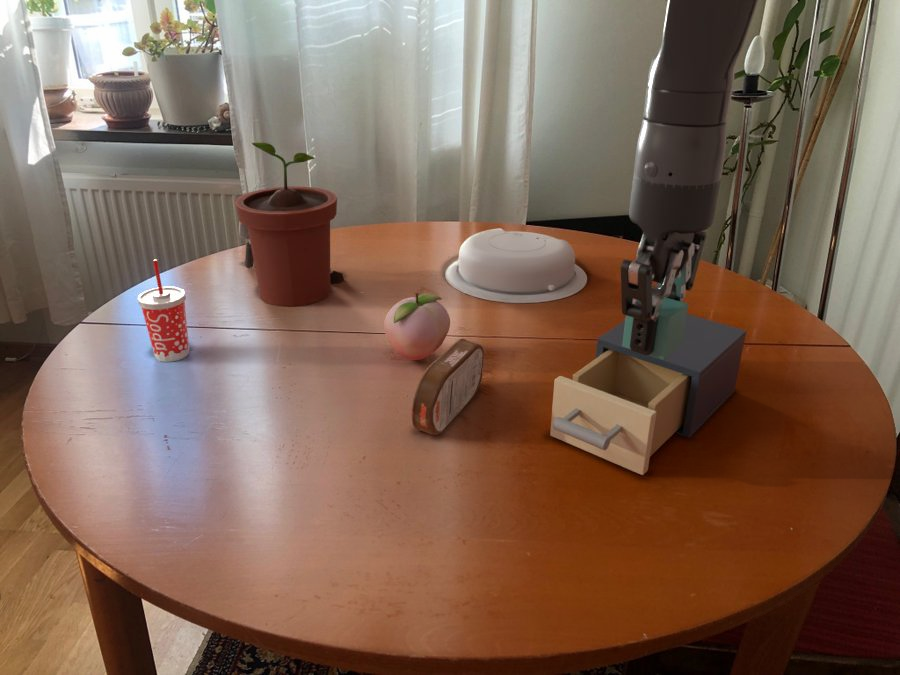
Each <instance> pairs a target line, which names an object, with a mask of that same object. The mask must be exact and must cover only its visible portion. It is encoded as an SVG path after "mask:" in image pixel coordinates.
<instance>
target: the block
mask: <svg viewBox="0 0 900 675" xmlns="http://www.w3.org/2000/svg"><path fill="white" fill-rule="evenodd" d="M653 300H654V296H653V295H652V304H653ZM688 311H689V303H687V302H684V301H682V302H680V301H676V300H673V299H669V298H664V299H663V303H662V307H661V310H660V315H659V318H658V324H657V331H656V338H655V345H654V351H653V352H652V353H651V354H650V355H651V356H654V357H657V358H660V359H665V358H666V357H667V356H668V355H669V354H671V353H672V352H673V351H674V350H675V349H677V348H678V347H679V346H680V345H681V344H682V342H683V335H684V329H685V323H686V317H687V314H688ZM624 321H625V327H624V335H623V344H622V346H623V347H626V348H629V349H631V348H630V340H631V333H632V325H633V317H630V316H627V315H625V319H624Z"/></svg>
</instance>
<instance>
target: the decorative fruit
mask: <svg viewBox="0 0 900 675" xmlns="http://www.w3.org/2000/svg"><path fill="white" fill-rule="evenodd" d="M442 300H443V298H442V297H441V296H439V295H437V294H436V293H431V292H426V293H422V294H419V293H416V292H415V296H412V297H406V298H403V299H402V300H400V301H398V302H396V303H395V304H394V305H393V306H392V307H391V308H390V309H389V310H388V312H387V313H386V316H385V319H384V323H383V328H384V329H383V330H384V334H385V336H386V339H387V342H388V343H389V345H390V346H391V347H392V349H393V350H394V351H395V352H396V353H397V354H398V355H399V356H401V357H403V358H405V359H408V360H412V361H422V360H424V359H427V358H428V357H430V356H431V355H432V354H433V353H435V352H436V351H437V350H438V349H439V348H440V347H441V346H442V344H443V343H444V342H445V340H446V337H447V336H448V333H449V331H450V327H451V318H450V315H449V313H448V311H447V309H446V308H445V306H444V305H443V304H441V303H440V302H439V301H442Z"/></svg>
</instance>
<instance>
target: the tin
mask: <svg viewBox="0 0 900 675" xmlns="http://www.w3.org/2000/svg"><path fill="white" fill-rule="evenodd" d="M485 353H486V352H485V348H484V347H483V346H482V345H481V344H479V343H477V342H473V341H470V340H467V339H466V338H459V339H458V340H457V341H455V342H454V343H453V344H452V345H451V346H450V347H449V348H448V349H446V350H445V351H444V352H443V353H442V354H441V355H440V356H438V358H436V359H435V360H434V361H433V362H432V363H430V365H429V366H428V367H427V368H426V369H425V371H424V373H423V374H422V376H421V378H420V380H419V382H418V384H417V387H416V389H415V392H414V396H413V400H412V406H411V423H412V427H413V429H415V430H416V431H417V432H418V431H419V432H424V433H426V434H430V435H432V436H433V435H434V436H439V435H440V434H442V432H443V431H444V429H445V428H447V426H448V425H449V424H450V423H451V422H452V421H453V420H454V419H455V417H456V416H457V415H458V414H459V413H460V412H461V411H462V410H463V409H464V407H465V406H466V405H467V404H468V402H469V401H470V400H471V399H472V398H473V397H474V396H475V395H476V394H477V393H478V391H479V388H480V385H481V382H482V380H483V368H484V360H485V357H484V356H485Z"/></svg>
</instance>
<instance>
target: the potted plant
mask: <svg viewBox="0 0 900 675" xmlns="http://www.w3.org/2000/svg"><path fill="white" fill-rule="evenodd" d="M251 144H252V146H254V147H256V148H258V149H259V150H261V151H262V152H265V153H267V154H268V155H270V156H272V157H275V158H277V159H278V160H280V161H281V162H282V164H283V186H274V187H267V188H261V189H257V190H253V191H249V192H246V193H244V194H242V195H240V196H238V197H237V199H235V201H234V204H235V208H236V212H237V216H238V221H239V222H238V235H239V237H240V239H242V240H249V241H247V242H246V244H245V256H244V257H245V258H244V266H245V268H248V269H252V268H253V267H254V270H255V274H256V280H257V286H258V291H259V296H260V299H261V300H262V301H263V302H265V303H267V304H269V305H273V306H279V307H300V306H307V305H311V304H315V303H317V302H319V301H322V300H324V299H325V298H326V297H328V296H329V295H330V293H331V284H339V283H340V284H341V283H343V282H345V277H344V275H343V273H342V272H340V271H336V270H332V272H331V221H332V220H334V219H335V218H336V216H337V214H338V213H337V211H338V196H337V195H336V193H334V192H333V191H331V190H328V189H324V188H320V187H315V186H305V185H304V186H301V185H300V186H299V185H298V186H297V185H296V186H295V185H294V186H293V185H290V186H289V185H288V172H287V170H288V169H287V168H288V167H289V166H290V165H292V164H298V163H305V162H308V161H311V160H314V159H316V157H314V156H312V155H310V154H308V153H305V152H297V153H295V154H294V155H293V161H292V160H291V161H288V162H286V160H285V158H284V157H283V156H281V155H279V154H277V153H276V148H275V147H274V145H273V144H271V143H270V142H269V143H268V142H251Z"/></svg>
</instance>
